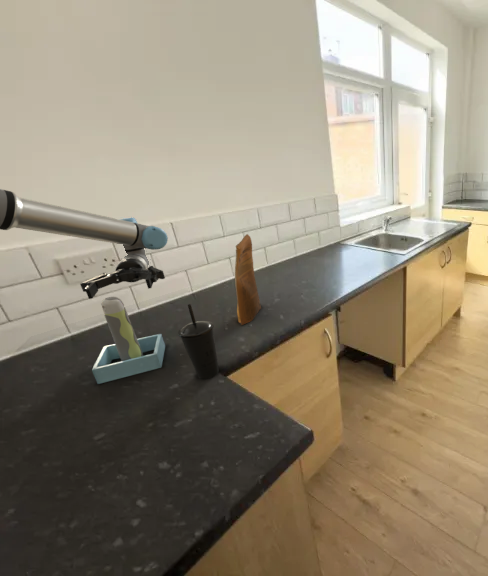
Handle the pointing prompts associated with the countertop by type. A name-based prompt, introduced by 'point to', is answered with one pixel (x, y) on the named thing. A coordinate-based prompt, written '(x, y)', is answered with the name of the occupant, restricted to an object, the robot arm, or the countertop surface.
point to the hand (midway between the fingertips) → (119, 289)
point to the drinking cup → (200, 346)
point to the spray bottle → (121, 328)
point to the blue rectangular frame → (132, 366)
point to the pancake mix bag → (245, 282)
